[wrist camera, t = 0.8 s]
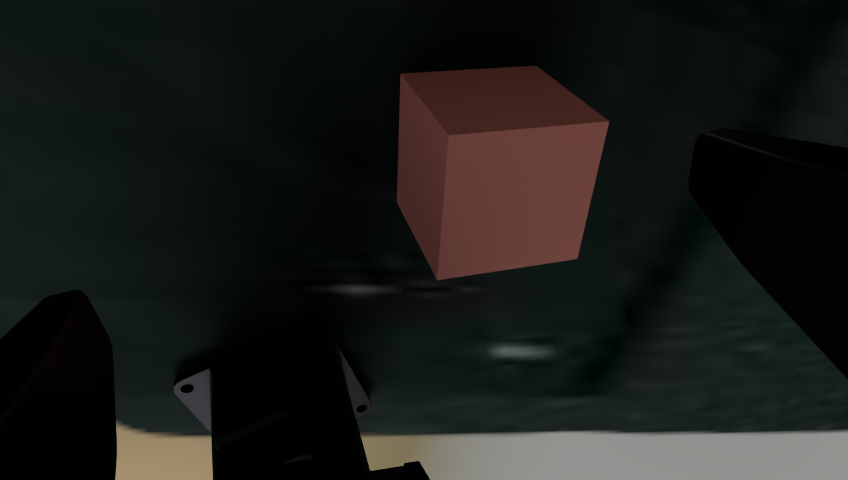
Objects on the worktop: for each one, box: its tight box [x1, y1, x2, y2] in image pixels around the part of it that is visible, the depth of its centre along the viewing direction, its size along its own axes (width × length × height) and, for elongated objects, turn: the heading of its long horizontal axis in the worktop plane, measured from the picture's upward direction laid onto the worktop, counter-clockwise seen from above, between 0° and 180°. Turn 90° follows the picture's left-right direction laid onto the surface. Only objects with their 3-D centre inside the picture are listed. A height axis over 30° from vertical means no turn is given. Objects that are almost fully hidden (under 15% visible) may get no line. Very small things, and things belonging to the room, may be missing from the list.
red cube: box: [397, 66, 609, 280], centre depth 21 cm, size 5×5×5 cm
